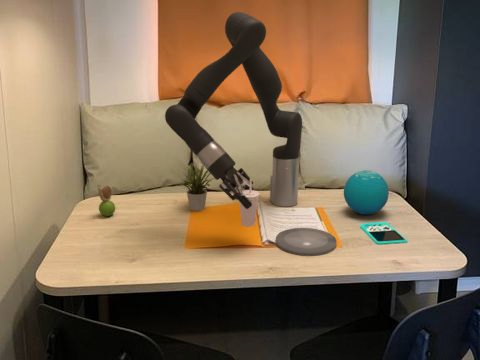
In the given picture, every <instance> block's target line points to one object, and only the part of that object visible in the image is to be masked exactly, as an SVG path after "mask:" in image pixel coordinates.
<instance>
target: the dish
mask: <svg viewBox="0 0 480 360" xmlns="http://www.w3.org/2000/svg"><path fill="white" fill-rule="evenodd" d="M275 245H276V246H277V248H279V249H280V250H282V251H284V252H285V253H288V254H293V255H297V256H303V257H304V256H306V257H309V256H310V257H312V256H321V255H326V254H328V253H332V252H333V251H335V249H336V248H337V239H336V236H334V235H333V234H331V233H330V232H328V231H326V230H321V229H318V228H312V227H311V228H310V227H294V228H289V229H285V230H282V231H280V232H279V233H278V234H276V237H275Z"/></svg>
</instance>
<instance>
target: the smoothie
mask: <svg viewBox="0 0 480 360" xmlns="http://www.w3.org/2000/svg"><path fill="white" fill-rule="evenodd" d="M252 181H253V179H252V178H250V190H243V189H242V190H241V191H242V193H243V195H245V196H246V197H247V199H248V200H249V201H250V202H251V203H252V206H251V207H249V208H248V209H246V208H245V207H244V206H243V205H242V204H241V203H240V201H239V200H238V203H239V210H240V211H239V212H240V217H241V219H240V220H241V225H242V226H243V227H247V228H248V227H250V228H251V227H254V226H256V225H255V224H256V218H257V211H258V203H259V199H260V198H261V195H260V192H259V191H257V190H255V189H254V190H255V191H254V190H251V186H252V185H253V184H252ZM237 192H238V191H237ZM238 193H239V192H238ZM259 195H260V196H259ZM259 197H260V198H259ZM258 198H259V199H258Z"/></svg>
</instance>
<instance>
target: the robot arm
mask: <svg viewBox="0 0 480 360" xmlns="http://www.w3.org/2000/svg"><path fill="white" fill-rule="evenodd" d="M224 33H225V36H226V38H227V40H228V42H229V43H230V45H231V48H230V49H229V50H228V52H226V53H225V54H224V55H222V56H221V57H220V58H219V59H217V60H215V61H213V62H211V63H210V64H208V65H206V66H205V67H203V68H202V69H201V70H200V71H199V72H198V73H197V74H196V75H195V76H194V78H193V79H192V80H191V81H190V83H189V84H188V86H187V87H186V88H185V90H184V94H183V96H182V97H181V99H180V100H179V101H178V103H177V104H172V105H170V106H169V107H168V108H167V109H166V110H165V114H164V119H165V122H166V124H167V126H169V128H170V129H171V130H172V131H173V132H174V133H175V134H176V135H177V136H178V137H179V138H180V139H181V140H183V142H184V143H185V144H186V145H187V147H188V148H189V150H191V152H192V153H193V154H194V155H195V156H196V158H197V159H198V160H199V162H200V163H201V164H202V165H204V168H205V169H206V171H207V170H208V173H209V172H210V173H211V174H210V175H212V177H213V178H215V180H217V181H218V180H221V183H220V184H219V185H218V188H220V190H222V191H223V192H224V193H225V194H226V196H228V198H230V200H231V201H235V200H236V201H238V202H239V201H240V203H241V204H242V205H243V206H244V207H245V208H246V209H248V208H249V207H251V206H252V203H251V202H250V201H249V200H248V199H247V197H246V196H245V195H243V193H242V191H243V190H250V179H251V178H250V176H249V175H248V174H247V172H246V171H245V170H244V169H243V168H242V167H240V168H239V169H237V168H235V166H236V161H235V160H234V159H233V158H232V157H231V156H230V155H229V153H228V152H227V151H226V150H225V149H224V147H222V146H221V144H219V143H218V142H217V141H216V140H215V139H214V137H212V136H211V134H210V133H209V132H208V131H207V130H206V129H205V128H203V127H202V126H201V125H200V123H199V122H198V121H197V120H196V118H197V116H198V115H199V113H200V111H201V110H202V108H203V107H204V105H205V104H206V103H208V101H209V99H210V98H211V97H212V96H213V94H214V93H215V92H216V91H217V89H218V88H219V87H220V86H221V85H222V83H223V82H225V80H226V79H227V78H228V77H229V76H230V75H231V74H232V73H233V72H235V70H236V69H238V68H239V67H240V66H241V65H242V68H243V70H244V72H245V75H246V76H247V79H248V81H249V83H250V86H251V88H252V90H253V92H254V95H255V96H256V98H257V100H258V103H259V105H260V107H261V111H262V113H263V116H264V118H265V119H264V120H265V122H266V125H267V128H268V130H269V133H270V134H271V135H272V136H273V137H277V138H285V139H286V143H285V144H282V145H279V146H275V147H274V148H273V149H272V175H271V176H270V177H269V179H270V181H269V182H270V185H269V189H270V190H269V201H270V202H271V204H273V205H274V206H278V207H284V208H285V207H287V208H288V207H293V206H296V205H297V204H298V199H299V198H298V194H299V193H298V192H299V169H300V167H299V166H300V151H301V145H302V144H301V142H302V133H303V132H302V131H303V118H302V115H301V113H299V112H297V111H290V110H289V111H288V110H282V109H280V108H279V107H278V104H277V101H278V99H279V97H280V95H281V93H282V89H283V84H282V81H281V78H280V76H279V72H278V70H277V68H276V67H275V65H274V64H273V62H272V61H271V59H270V58H269V57H268V55H266V54H265V52H264V51H263V50H262V48H261V46H262V44H263V42H264V41H265V40H266V37H267V35H266V34H267V28H266V26H265V23H264V22H262V21H260V20H259V19H257V18H255V17H253V16H252V15H249V14H247V13H245V12H242V11H238V12H237V11H236V12H232V13H231V14H229V16H228V17H227V19H226V21H225V24H224ZM253 185H254V181H253V180H252V186H251V190H254V191H256V189H254V186H253ZM238 192H239V193H238ZM259 196H260V197H259V198H258V200H259V199H260V198H261V195H260V194H259ZM240 203H239V204H240Z"/></svg>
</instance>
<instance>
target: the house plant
mask: <svg viewBox="0 0 480 360" xmlns="http://www.w3.org/2000/svg"><path fill="white" fill-rule="evenodd" d="M192 163H193V164H192V166H193V167H194V170H193V168H192V167H191V166H190V165H189V164H188V165H187V167H188V170H189V174H190V176H189V175H188V174H186V173H184V172H183V171H181V170H180V169H177V171H179V172H180V173H182V174H183V175H184V177H186V178H187V180H188V181H189V182H188V181H187V180H185V179H183V178H181V180H182V182H183V183H181V184H179V186H184V187H186V188H187V189H188V190H187V191H186V196H187V202H188V206H189V210H190V211H192V212H200V211H204V210H205V207H206V201H207V197H208V196H207V194H208V187H210V186H211V184H210V182H212V181H213V180H214V179H215V178H214V177H213V178H210V179H208V178H209V176H210V175H212V174H211V173H210V172H209V171H208V170H207V169H206V170H205V172H204V168H205V167H204V165H203V164H202V165H201V166H200V169H199V170H198V168H197V166H196V164H195V163H194V162H192ZM203 172H204V173H203ZM215 180H216V179H215ZM206 189H207V190H206Z"/></svg>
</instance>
